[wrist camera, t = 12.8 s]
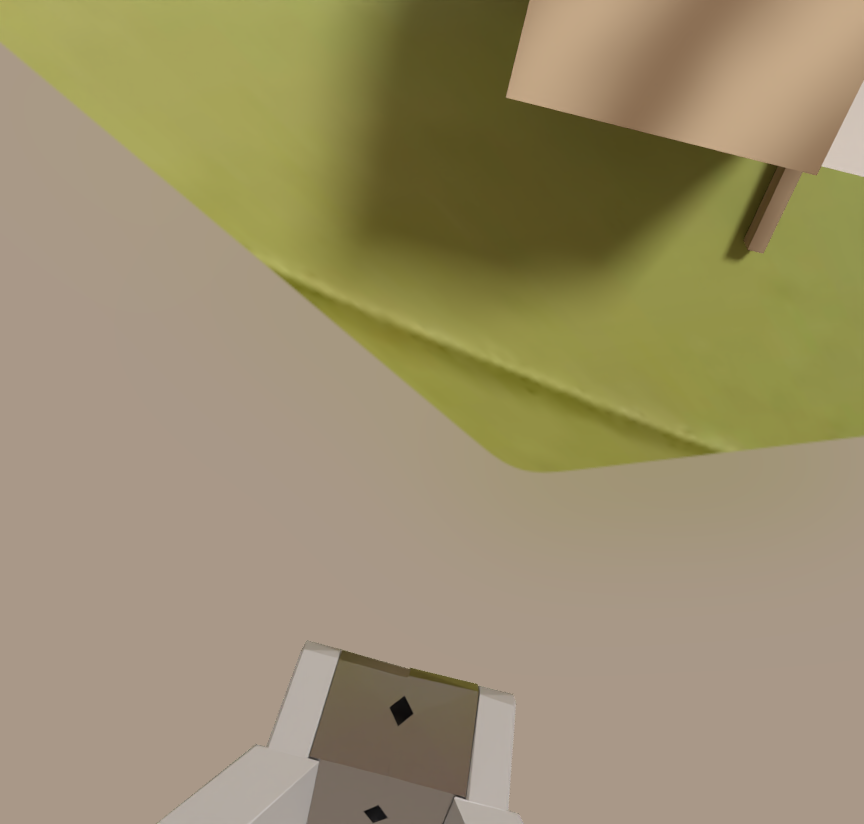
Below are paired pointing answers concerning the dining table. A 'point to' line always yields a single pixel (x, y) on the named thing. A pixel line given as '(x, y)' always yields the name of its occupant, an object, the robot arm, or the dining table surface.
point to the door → (849, 140)
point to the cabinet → (703, 76)
